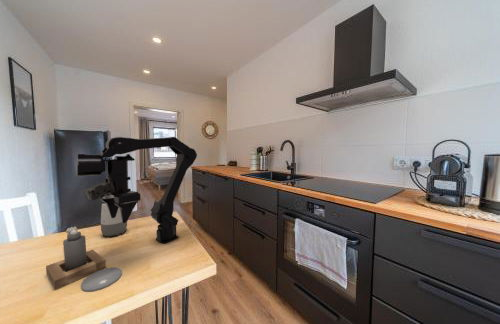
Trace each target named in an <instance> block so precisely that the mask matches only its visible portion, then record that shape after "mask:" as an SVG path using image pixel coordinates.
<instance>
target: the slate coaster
mask: <svg viewBox="0 0 500 324" xmlns="http://www.w3.org/2000/svg"><path fill="white" fill-rule="evenodd" d="M122 274H123V271H122V269H121V268H120V267H115V266H112V267H106V268H104V269H102V270H99V271H97V272H95V273H93V274H91V275H88V276H86V277H84V279H83V280H82V282H81V283H80V289H81V291H84V292H88V293H89V292H95V291H101V290H103V289H105V288H108V287H110V286H111V285H113V284H115V283H116V282H117V281H118V280H119V279H120V278H121V277H122Z"/></svg>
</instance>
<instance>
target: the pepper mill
mask: <svg viewBox="0 0 500 324" xmlns="http://www.w3.org/2000/svg"><path fill="white" fill-rule="evenodd" d="M62 244H63V256H64V257H63V260H65V271H64V273H65V272H68V271H70V270H73V269H75V268H78V267H80V266H83V265H85V264H88V263H87V255H86V252H87V245H86V244H87V243H86V236H85V235H84V234H83V235H82V233H81V231H78V230H73V231H71V233H70V234H69V235H68V234H67V235H66V239H64V240H63V241H62Z"/></svg>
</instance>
